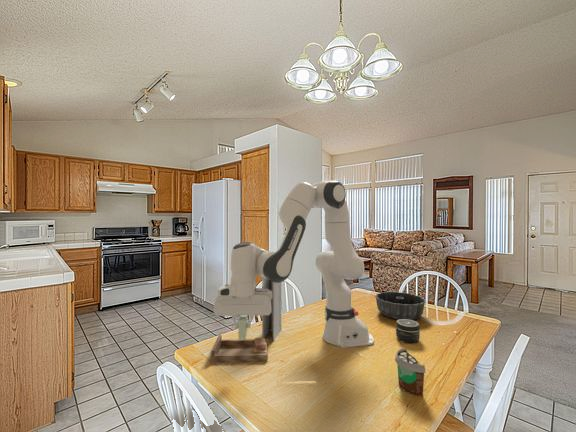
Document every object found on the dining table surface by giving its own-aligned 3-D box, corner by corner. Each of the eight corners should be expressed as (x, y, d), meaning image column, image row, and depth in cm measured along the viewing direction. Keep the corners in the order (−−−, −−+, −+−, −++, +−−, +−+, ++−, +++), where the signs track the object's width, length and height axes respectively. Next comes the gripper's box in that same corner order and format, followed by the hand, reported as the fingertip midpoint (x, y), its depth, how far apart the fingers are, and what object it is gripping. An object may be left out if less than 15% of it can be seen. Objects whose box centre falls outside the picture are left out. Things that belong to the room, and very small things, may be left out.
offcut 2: (266, 347, 120) (266, 342, 120) (265, 357, 112) (265, 351, 112) (255, 348, 120) (255, 342, 120) (254, 357, 112) (254, 352, 112)
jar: (423, 339, 130) (423, 322, 130) (415, 346, 122) (415, 328, 122) (400, 333, 137) (401, 316, 137) (392, 339, 129) (392, 322, 129)
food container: (388, 376, 100) (388, 348, 100) (405, 376, 100) (405, 347, 100) (406, 399, 87) (406, 367, 87) (425, 398, 88) (425, 366, 88)
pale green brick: (247, 331, 105) (247, 314, 105) (245, 339, 99) (245, 320, 99) (240, 332, 105) (240, 314, 105) (238, 339, 99) (238, 320, 99)
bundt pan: (383, 304, 179) (383, 288, 179) (430, 313, 164) (430, 295, 164) (368, 317, 158) (368, 298, 158) (420, 328, 142) (420, 308, 142)
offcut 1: (264, 342, 120) (264, 337, 120) (265, 349, 113) (265, 344, 113) (254, 343, 119) (254, 338, 119) (255, 350, 113) (255, 345, 113)
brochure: (274, 342, 126) (274, 274, 126) (262, 341, 127) (262, 273, 127) (281, 329, 140) (281, 268, 140) (270, 328, 141) (270, 267, 141)
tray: (268, 345, 123) (268, 334, 123) (267, 362, 109) (267, 349, 109) (218, 346, 122) (218, 335, 122) (211, 364, 108) (211, 350, 108)
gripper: (272, 286, 106) (272, 323, 106) (216, 286, 105) (216, 324, 105) (272, 290, 100) (272, 330, 100) (212, 290, 99) (212, 331, 99)
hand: (243, 327), depth 102 cm, fingers closed on pale green brick, 2 cm apart
